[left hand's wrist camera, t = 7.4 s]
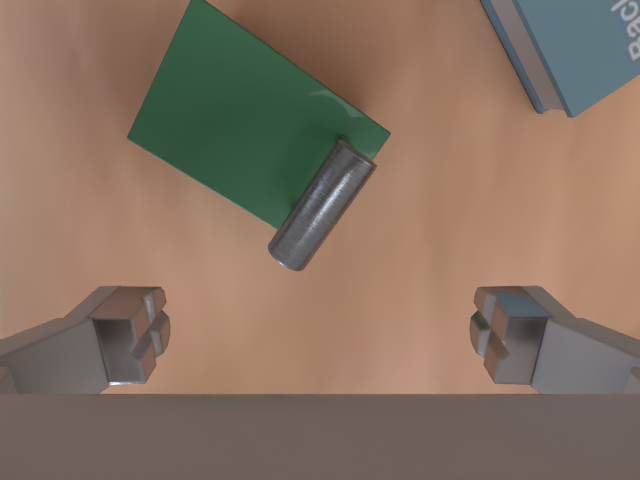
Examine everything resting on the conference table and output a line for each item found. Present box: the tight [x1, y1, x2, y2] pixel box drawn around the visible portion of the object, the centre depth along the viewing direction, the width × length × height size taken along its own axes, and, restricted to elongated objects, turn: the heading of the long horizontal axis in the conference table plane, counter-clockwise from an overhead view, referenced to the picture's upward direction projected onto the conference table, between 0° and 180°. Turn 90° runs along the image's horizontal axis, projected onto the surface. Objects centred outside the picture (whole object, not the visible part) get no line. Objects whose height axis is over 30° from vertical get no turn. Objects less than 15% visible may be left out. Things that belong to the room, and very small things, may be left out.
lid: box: [127, 0, 391, 271], centre depth 21 cm, size 14×10×9 cm
